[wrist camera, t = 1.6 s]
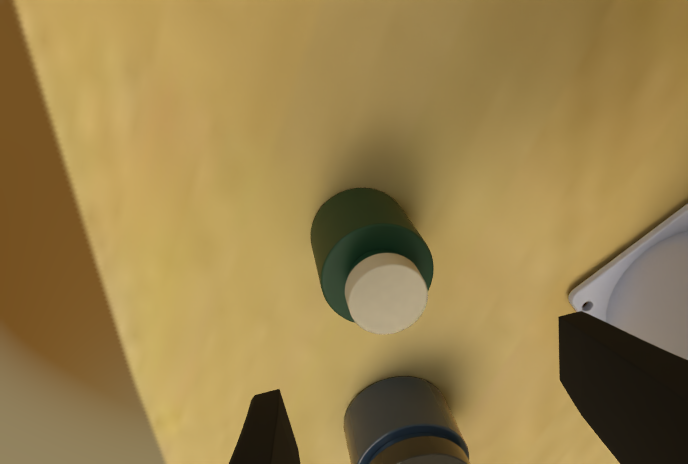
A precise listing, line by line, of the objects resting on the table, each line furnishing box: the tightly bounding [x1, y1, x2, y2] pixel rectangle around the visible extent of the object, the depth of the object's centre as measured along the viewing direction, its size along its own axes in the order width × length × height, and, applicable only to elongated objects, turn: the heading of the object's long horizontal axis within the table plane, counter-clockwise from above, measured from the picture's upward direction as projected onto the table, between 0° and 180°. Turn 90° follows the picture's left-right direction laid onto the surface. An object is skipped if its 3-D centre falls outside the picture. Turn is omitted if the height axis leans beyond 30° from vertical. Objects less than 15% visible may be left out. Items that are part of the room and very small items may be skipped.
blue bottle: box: [344, 376, 470, 464], centre depth 24 cm, size 5×5×5 cm
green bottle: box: [311, 188, 433, 334], centre depth 19 cm, size 4×4×5 cm
